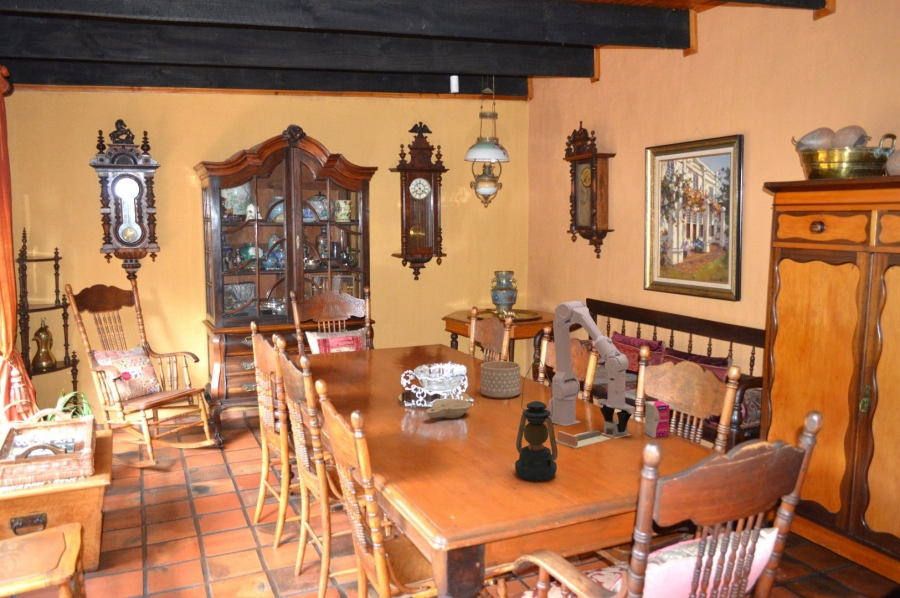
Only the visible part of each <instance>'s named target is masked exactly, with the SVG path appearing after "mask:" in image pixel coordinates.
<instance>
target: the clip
mask: <svg viewBox="0 0 900 598" xmlns="http://www.w3.org/2000/svg"><path fill="white" fill-rule="evenodd" d="M628 424H629V423H627V426H626V429H625V432H619V421H618V417H615V418H613V419H611V420H607V421H605V420H604V421H603V433H604V434H606V435H605V436H607V434H611V433H613V437H618V436H622V435H626V434H628ZM604 434H603V435H604ZM613 437H612V438H613Z"/></svg>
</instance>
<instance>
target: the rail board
mask: <svg viewBox="0 0 900 598" xmlns="http://www.w3.org/2000/svg"><path fill="white" fill-rule="evenodd" d="M555 439H556V444H557V443H558V444H560V445H563V446H567V447H570V448H572V449H575V450H579V449H582V448H583V447H586V446H587V447H588V446H590V445H593V444H598V443H602V442H605V441H610V440H612V437H609V436H606V435H605V436H604V435H603V434H601V430H599V429H598V430H597V429H596V430H593V431H590V430H589V431H585V432H581V433H576V434H572V433H568V432H565V431H563V430H557V438H555Z"/></svg>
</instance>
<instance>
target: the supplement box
mask: <svg viewBox="0 0 900 598" xmlns="http://www.w3.org/2000/svg"><path fill="white" fill-rule="evenodd" d="M644 418H645V419H644V435H646V436H648V437H650V438H652V439H658V438H661V439H662V438H668V437H669V423H670V422H669V420H670V404H668V403H666V402H664V401H662V400H654V401H653V400H652V401H645V416H644Z"/></svg>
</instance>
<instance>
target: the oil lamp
mask: <svg viewBox="0 0 900 598" xmlns="http://www.w3.org/2000/svg"><path fill="white" fill-rule="evenodd" d="M471 407H472V403H471V402H470V401H467V400H466V399H465V400H464V399H458V398H442V399H437V400H434V401H433V402H432V407H430V408H427V409H426V411H425V413H426V415H427V416H428V417H430V418H432V419H433V418H442V419H443V418H444V419H457V418H461V417H462V416H463V415H464V414H465V413H467V411H469V409H471Z"/></svg>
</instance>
